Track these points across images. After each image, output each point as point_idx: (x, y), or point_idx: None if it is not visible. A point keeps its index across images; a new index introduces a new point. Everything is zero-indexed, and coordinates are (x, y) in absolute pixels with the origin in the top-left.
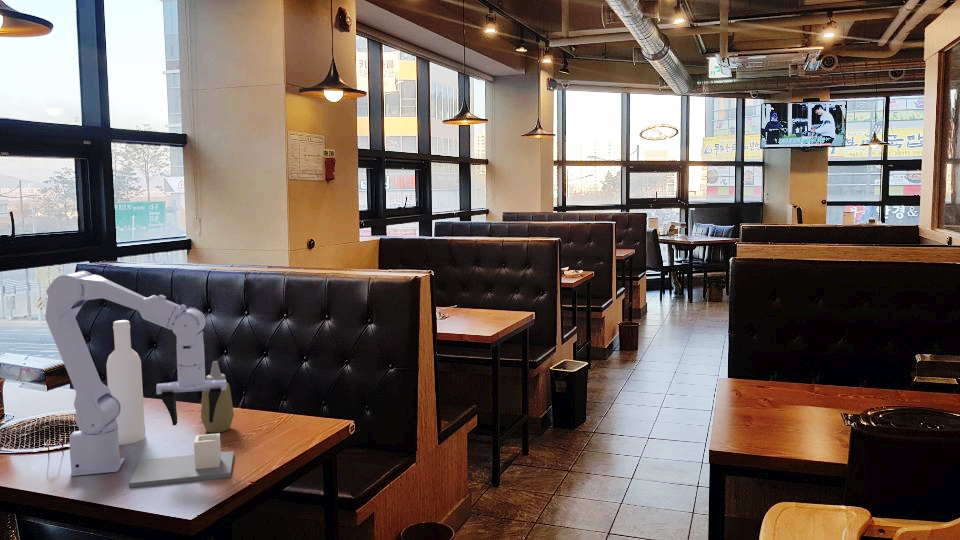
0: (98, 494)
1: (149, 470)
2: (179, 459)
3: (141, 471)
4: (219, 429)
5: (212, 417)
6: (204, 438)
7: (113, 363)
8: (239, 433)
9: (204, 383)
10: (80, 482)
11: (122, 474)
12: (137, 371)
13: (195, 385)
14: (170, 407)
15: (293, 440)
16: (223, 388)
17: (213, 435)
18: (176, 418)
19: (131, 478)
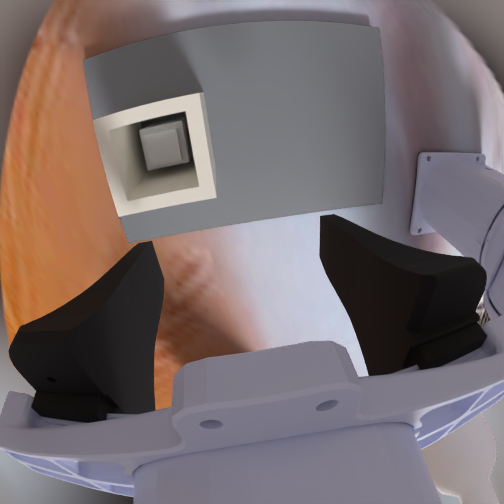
0: (424, 21)
1: (349, 110)
2: (278, 188)
3: (369, 107)
4: None
5: (127, 254)
6: (178, 186)
7: (493, 448)
8: (179, 364)
9: (125, 472)
10: (467, 114)
11: (406, 134)
12: (439, 457)
13: (190, 452)
14: (393, 250)
15: (44, 315)
16: (13, 402)
17: (139, 196)
18: (329, 253)
19: (382, 60)
